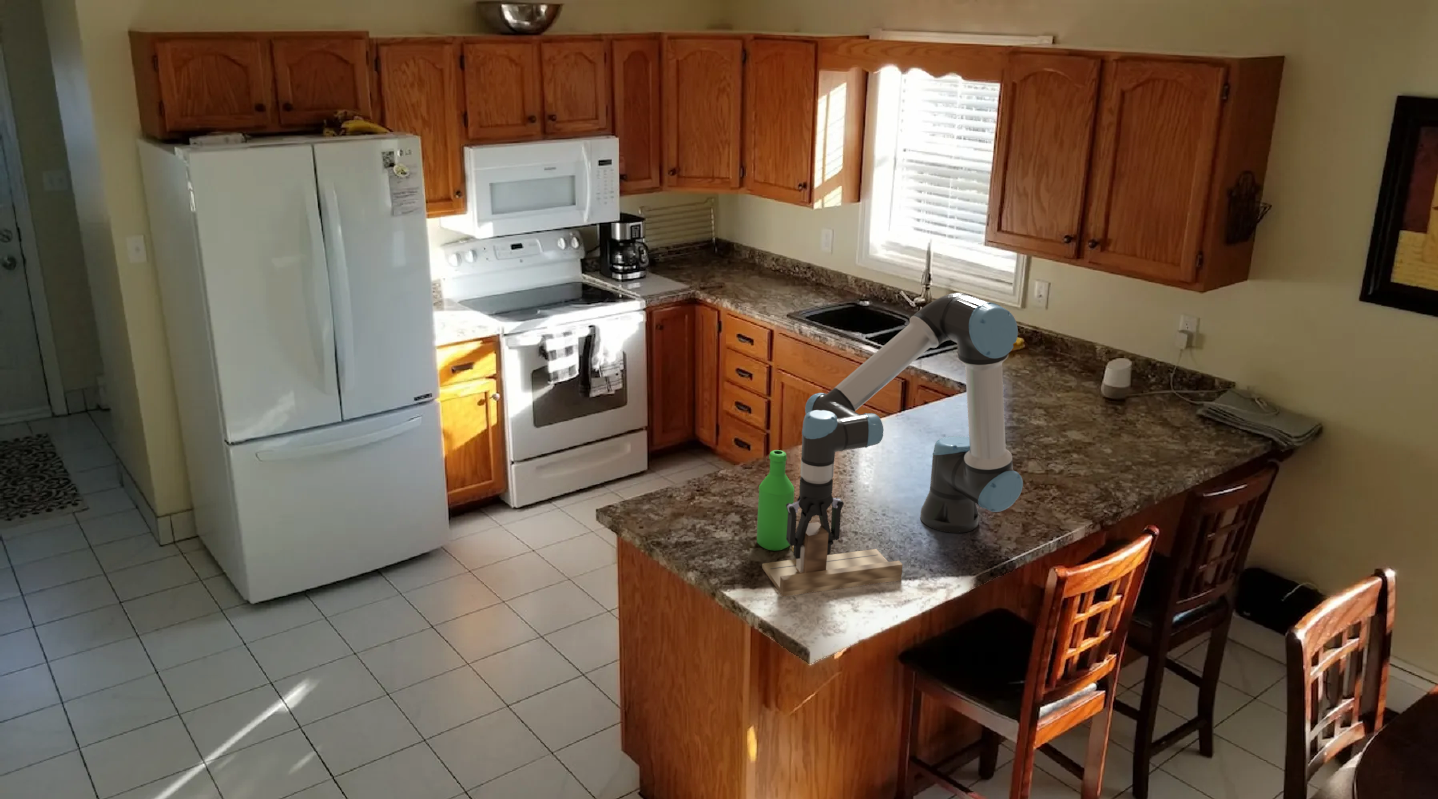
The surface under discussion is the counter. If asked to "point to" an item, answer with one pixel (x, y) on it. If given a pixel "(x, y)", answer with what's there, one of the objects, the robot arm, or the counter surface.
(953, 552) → the counter surface
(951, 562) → the counter surface
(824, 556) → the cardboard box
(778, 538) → the bottle
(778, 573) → the board
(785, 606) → the counter surface
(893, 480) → the counter surface
